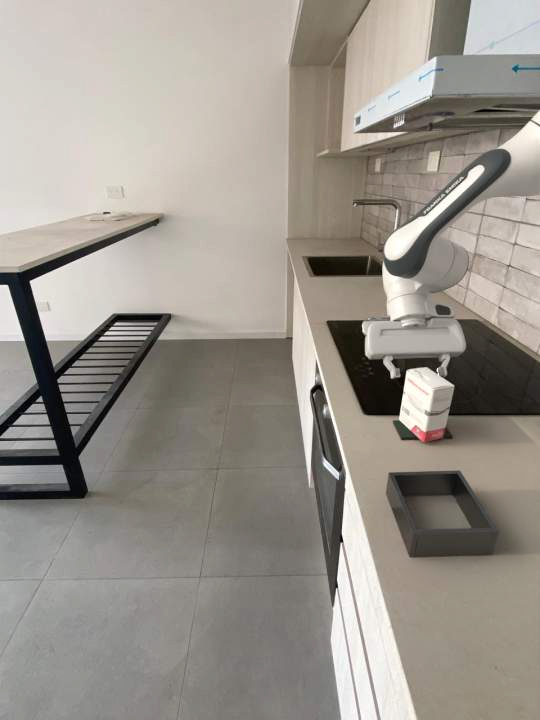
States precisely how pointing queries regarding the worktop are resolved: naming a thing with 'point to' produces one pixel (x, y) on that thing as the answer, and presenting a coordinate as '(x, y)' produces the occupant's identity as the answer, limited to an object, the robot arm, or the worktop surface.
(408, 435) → the mat
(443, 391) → the ink box
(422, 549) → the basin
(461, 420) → the worktop surface
